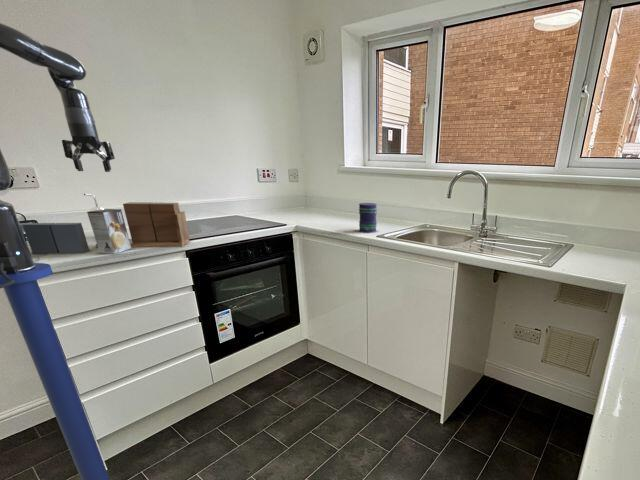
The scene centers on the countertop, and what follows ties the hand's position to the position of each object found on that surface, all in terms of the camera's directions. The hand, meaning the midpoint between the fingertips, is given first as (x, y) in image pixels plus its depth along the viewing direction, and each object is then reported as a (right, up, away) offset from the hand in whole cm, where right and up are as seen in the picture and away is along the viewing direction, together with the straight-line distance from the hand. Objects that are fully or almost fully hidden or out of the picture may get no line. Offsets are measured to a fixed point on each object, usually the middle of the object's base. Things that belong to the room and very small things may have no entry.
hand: (94, 171), depth 129 cm
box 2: (+12, -21, +25) cm, 35 cm away
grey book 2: (-15, -29, +8) cm, 33 cm away
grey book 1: (-23, -29, +6) cm, 38 cm away
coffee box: (-1, -28, +11) cm, 30 cm away
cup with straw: (-24, -19, +33) cm, 45 cm away
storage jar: (+95, -8, +70) cm, 118 cm away
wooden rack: (+2, -23, +23) cm, 33 cm away
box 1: (+3, -22, +23) cm, 32 cm away
